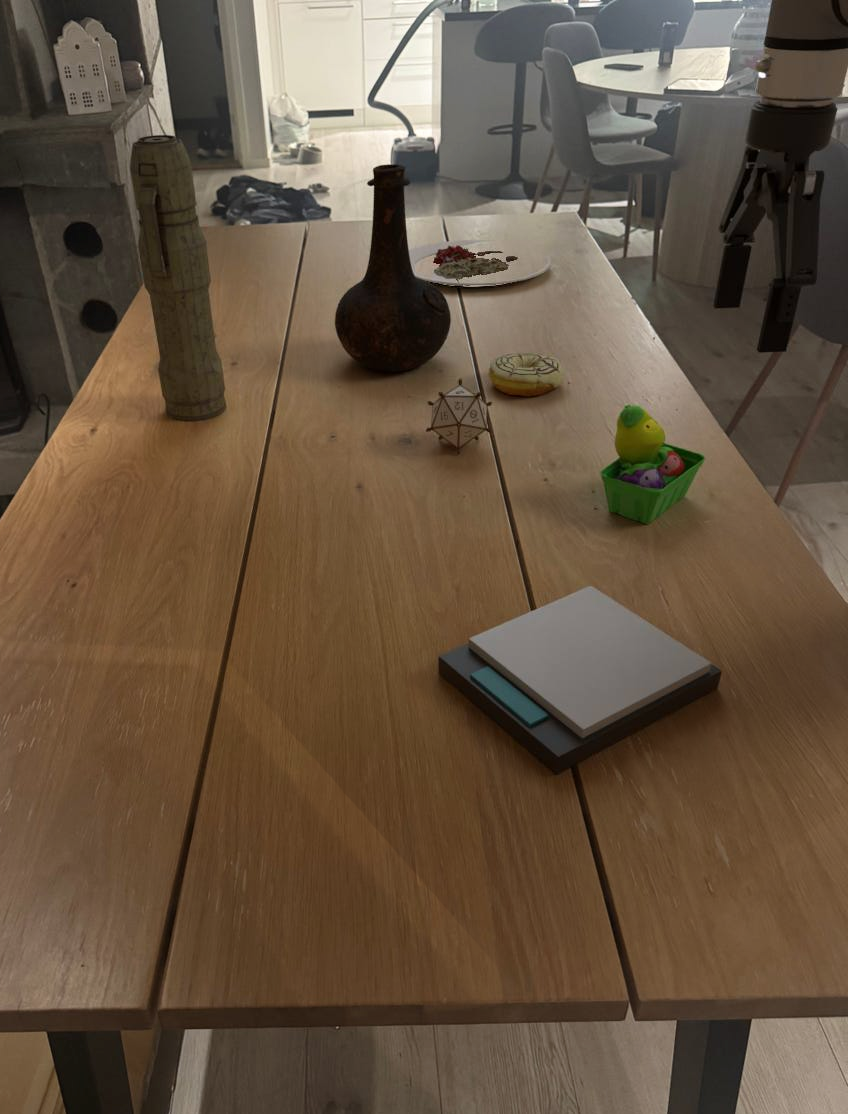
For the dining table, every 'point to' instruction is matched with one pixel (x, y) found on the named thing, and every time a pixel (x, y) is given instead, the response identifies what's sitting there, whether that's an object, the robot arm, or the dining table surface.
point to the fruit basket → (646, 468)
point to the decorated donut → (526, 374)
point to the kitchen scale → (576, 676)
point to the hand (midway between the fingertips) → (747, 328)
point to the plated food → (462, 263)
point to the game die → (459, 416)
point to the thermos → (177, 278)
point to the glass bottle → (391, 292)
